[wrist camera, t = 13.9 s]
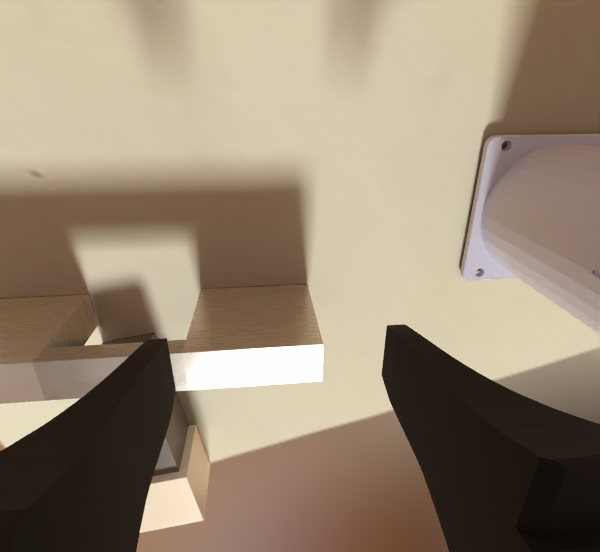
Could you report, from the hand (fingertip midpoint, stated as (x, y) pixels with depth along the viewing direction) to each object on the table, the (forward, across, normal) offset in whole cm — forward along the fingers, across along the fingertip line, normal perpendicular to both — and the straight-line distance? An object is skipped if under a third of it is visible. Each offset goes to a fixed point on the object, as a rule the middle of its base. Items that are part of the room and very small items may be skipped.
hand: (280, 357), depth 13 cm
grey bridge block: (+9, +7, +3) cm, 12 cm away
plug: (+9, +8, +11) cm, 16 cm away
